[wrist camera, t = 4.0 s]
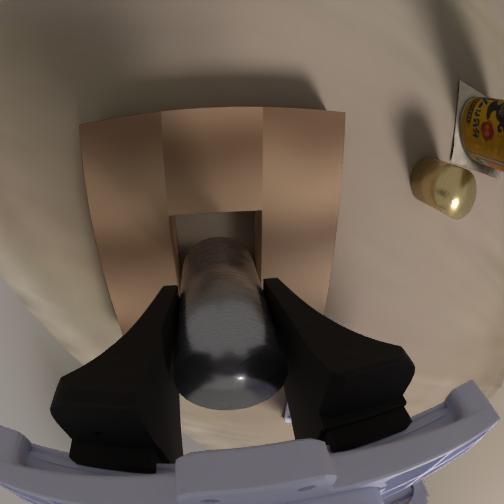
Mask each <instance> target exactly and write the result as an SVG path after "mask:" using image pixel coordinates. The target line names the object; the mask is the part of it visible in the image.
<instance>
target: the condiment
mask: <svg viewBox="0 0 504 504" xmlns="http://www.w3.org/2000/svg"><path fill="white" fill-rule="evenodd" d="M451 162H452V163H455V164H459V165H461V166H464V167H467V168H470V169H473V170H476V171H478V172H481V173H484V174H486V175H489V176H492V177H494V178H497V179H499V180H500V173H501V172H500V171H503V172H504V100H502V99H501V100H500V99H494V98H488V97H486V96H484V95H483V94H481V93H480V92H478V91H476V90H475V89H473V88H472V87H470V86H469V85H467V84H465V83H464V82H462V81H461V80H460V82H459V98H458V105H457V116H456V128H455V136H454V148H453V155H452V160H451Z"/></svg>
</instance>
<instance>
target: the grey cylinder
mask: <svg viewBox="0 0 504 504" xmlns="http://www.w3.org/2000/svg"><path fill="white" fill-rule="evenodd" d="M287 375H288V366H287V362H286V359H285V356H284V353H283V350H282V347H281V344H280V341H279V338H278V335H277V332H276V329H275V326H274V323H273V320H272V317H271V314H270V311H269V308H268V305H267V302H266V299H265V295H264V292H263V289H262V286H261V283H260V280H259V277H258V274H257V271H256V268H255V265H254V262H253V259H252V256H251V254H250V253H249V251H248V250H247V249H246V248H245V247H244V246H243V245H242V244H241V243H239V242H237V241H235V240H233V239H229V238H224V237H214V238H209V239H206V240H203V241H201V242H199V243H197V244H196V245H195V246H194V247H192V248H191V250H190V251H189V252H188V253H187V255H186V257H185V259H184V263H183V270H182V279H181V288H180V298H179V308H178V319H177V331H176V344H175V358H174V376H173V379H174V384H175V386H176V388H177V390H178V392H179V393H180V394H181V395H182V396H183V397H184V398H186V399H187V400H189V401H190V402H192V403H194V404H196V405H199V406H201V407H205V408H209V409H215V410H236V409H243V408H247V407H251V406H254V405H257V404H259V403H261V402H263V401H265V400H267V399H269V398H270V397H272V396H273V395H274V394H276V393H277V392H278V391H279V390H280V389H281V388H282V386H283V385H284V383H285V381H286V379H287Z"/></svg>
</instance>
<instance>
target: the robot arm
mask: <svg viewBox="0 0 504 504" xmlns="http://www.w3.org/2000/svg"><path fill="white" fill-rule="evenodd" d="M263 292H264V295H265V299H266V302H267V305H268V308H269V311H270V314H271V317H272V320H273V323H274V326H275V329H276V332H277V335H278V338H279V341H280V344H281V347H282V350H283V353H284V356H285V359H286V362H287V366H288V375H287V379H286V381H285V383H284V389H285V394H286V398H287V405H286V411H285V417H284V421H285V422H286V423H289V422H292V426H293V431H294V436H295V440H291V441H285V442H279V443H273V444H266V445H259V446H252V447H243V448H233V449H221V450H206V451H199V452H191V453H188V454H186V455H184V456H183V448H182V437H181V423H180V401H179V392H178V390H177V388H176V386H175V384H174V379H173V376H174V358H175V344H176V331H177V319H178V308H179V291H178V285H170V286H163V287H162V288H161V290H160V291H159V292H158V294H157V295H156V297H155V298H154V300H153V301H152V302H151V304H150V305H149V306H148V308H147V309H146V310H145V312H144V313H143V314H142V316H141V317H140V318H139V319H138V320H137V321H136V323H135V324H134V325H133V326H132V327H131V328H130V329H129V331H128V332H127V333H126V334H125V335H123V336H122V337H121V338H120V339H119V340H118V341H117V342H116V343H115V344H113V345H112V346H111V347H110V348H108V349H107V350H106V351H105V352H103V353H102V354H101V355H99V356H98V357H96V358H95V359H93V360H92V361H90V362H89V363H87V364H86V365H84V366H82V367H80V368H79V369H77V370H75V371H73V372H71V373H69V374H67V375H65V376H63V377H61V378H60V381H59V383H58V386H57V388H56V391H55V394H54V397H53V401H52V404H51V407H50V411H51V414H52V416H53V418H54V419H55V421H56V422H57V423H58V424H59V426H60V427H61V428H62V429H63V430H64V431H65V432H66V433H67V434H68V435H69V436H70V438H71V439H72V443H71V448H70V453H68V452H64V451H59V450H55V449H51V448H47V447H42V446H39V445H36V444H32V443H31V442H30V441H29V440H28V439H27V438H26V437H25V436H24V435H23V434H21V433H20V432H18V431H15V430H12V429H9V428H6V427H3V426H1V425H0V485H1V486H2V487H3V488H5V489H7V490H8V491H10V492H11V493H13V494H15V495H16V496H18V497H20V498H21V499H23V500H26V501H28V502H31V503H33V504H394V503H395V504H428V497H429V494H428V492H427V489H426V487H425V485H424V479H423V478H425V477H427V476H429V475H430V474H432V473H434V472H435V471H437V470H438V469H440V468H442V467H443V466H445V465H446V464H448V463H450V462H451V461H453V460H454V459H456V458H457V457H459V456H461V455H462V454H464V453H465V452H466V451H468V450H469V449H470V448H472V447H473V446H474V445H475V444H476V443H477V442H478V441H479V440H480V439H481V438H482V437H483V436H484V435H485V434H486V433H487V432H488V431H489V430H490V429H491V428H492V427H493V426H494V425H495V424H496V423H497V422H498V421H499V420H500V417H499V416H498V414H497V413H496V411H495V410H494V408H493V407H492V405H491V404H490V403H489V401H488V400H487V398H486V397H485V396H484V394H483V393H482V392H481V390H480V389H479V387H478V386H477V385H476V383H475V382H474V381H473V380H470V381H468V382H466V383H464V384H462V385H460V386H458V387H457V388H455V389H454V390H453V391H451V392H450V394H449V395H448V396H447V397H446V399H445V401H444V402H443V403H441V404H439V405H437V406H435V407H433V408H430V409H428V410H426V411H424V412H422V413H419V414H417V415H415V416H413V417H410V416H409V414H408V413H407V411H406V409H405V407H404V406H405V405H406V400H405V398H404V397H403V394H404V392H405V390H406V389H407V387H408V385H409V384H410V382H411V380H412V378H413V376H414V373H415V366H414V364H413V362H412V361H411V359H410V358H409V356H408V355H407V354H406V352H405V351H404V349H403V348H402V347H401V346H397V345H393V344H389V343H385V342H381V341H377V340H375V339H372V338H369V337H366V336H363V335H361V334H358V333H356V332H354V331H351V330H349V329H347V328H345V327H343V326H341V325H339V324H337V323H335V322H334V321H332V320H330V319H329V318H327V317H325V316H324V315H322V314H321V313H319V312H318V311H316V310H315V309H314V308H312V307H311V306H309V305H308V304H307V303H306V302H304V301H303V300H302V299H301V298H299V297H298V296H297V295H296V294H295V293H294V292H293V291H291V290H290V289H289V288H288V287H287V286H286V285H285V284H284V283H283V282H282V281H281V280H279V279H278V278H266V279H263ZM398 501H399V502H398ZM396 502H397V503H396Z"/></svg>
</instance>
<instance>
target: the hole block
mask: <svg viewBox="0 0 504 504" xmlns="http://www.w3.org/2000/svg"><path fill="white" fill-rule="evenodd" d="M79 126H80V140H81V151H82V161H83V169H84V177H85V184H86V191H87V197H88V203H89V209H90V214H91V220H92V225H93V230H94V234H95V239H96V243H97V248H98V252H99V256H100V260H101V264H102V268H103V272H104V276H105V279H106V283H107V287H108V290H109V294H110V297H111V300H112V303H113V307H114V310H115V313H116V316H117V319H118V322H119V325H120V328H121V331H122V334H123V335H125V334H126V333H127V332H128V331H129V329H130V328H131V327H132V326H133V325H134V324H135V323H136V321H137V320H138V319H139V318H140V317H141V316H142V314H143V313H144V312H145V310H146V309H147V308H148V306H149V305H150V304H151V302H152V301H153V300H154V298H155V297H156V295H157V294H158V292H159V291H160V290H161V288H162V287H163V286H170V285H178V291H179V298H180V288H181V279H182V273H181V266H180V258H179V250H178V242H177V233H176V224H175V215H188V214H203V213H218V212H236V211H255V268H256V271H257V274H258V277H259V280H260V283H261V286H262V289H263V279H266V278H278V279H279V280H281V281H282V282H283V283H284V284H285V285H286V286H287V287H288V288H289V289H290V290H291V291H293V292H294V293H295V294H296V295H297V296H298V297H299V298H301V299H302V300H303V301H304V302H306V303H307V304H308V305H309V306H311V307H312V308H314V309H315V310H316V311H318V312H319V313H321V314H322V315H324V311H325V306H326V300H327V294H328V288H329V281H330V275H331V268H332V261H333V254H334V246H335V239H336V230H337V222H338V213H339V203H340V192H341V181H342V168H343V153H344V135H345V112H336V111H326V110H315V109H302V108H283V107H214V108H195V109H182V110H171V111H161V112H152V113H144V114H137V115H130V116H124V117H118V118H112V119H106V120H101V121H96V122H91V123H86V124H82V125H79Z"/></svg>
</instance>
